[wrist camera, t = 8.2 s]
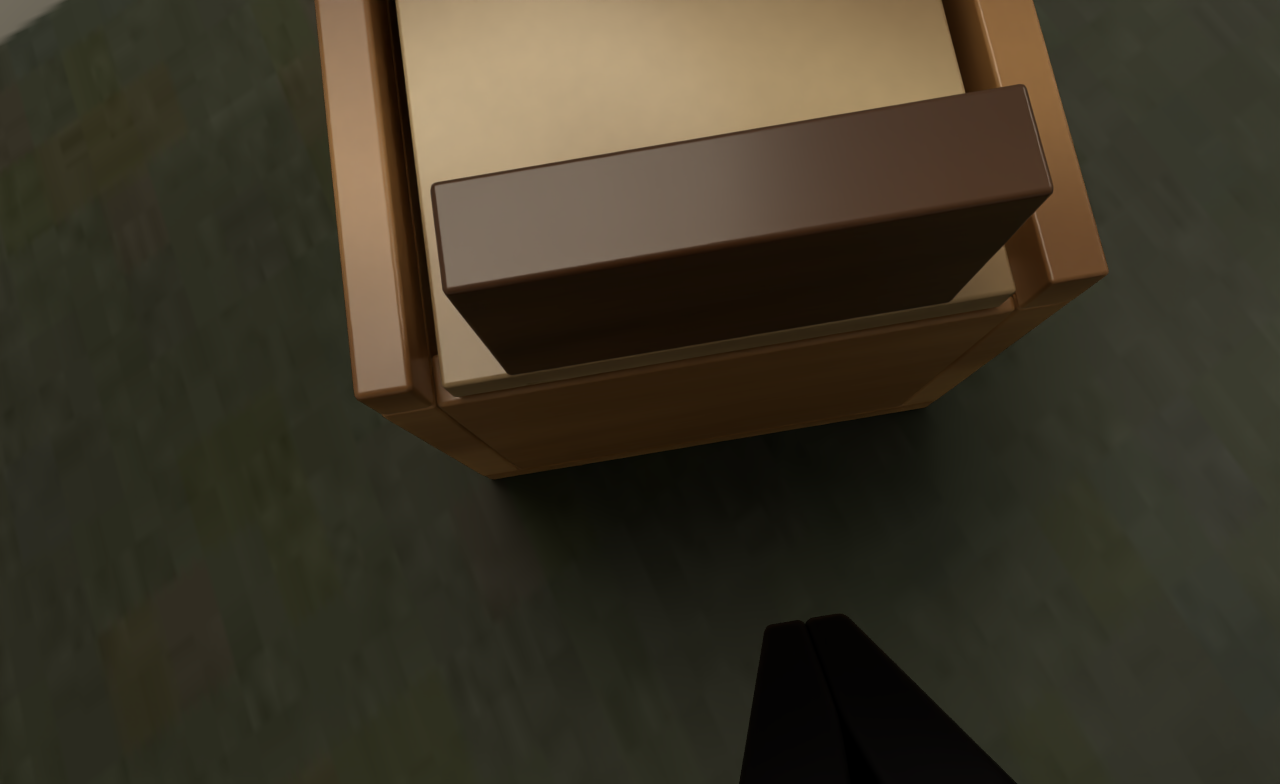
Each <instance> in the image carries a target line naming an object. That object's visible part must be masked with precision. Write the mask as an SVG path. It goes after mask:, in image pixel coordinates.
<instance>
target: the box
mask: <svg viewBox="0 0 1280 784" xmlns="http://www.w3.org/2000/svg"><path fill="white" fill-rule="evenodd" d="M314 1H315V11H316V21H317V31H318V41H319V51H320V61H321V71H322V81H323V91H324V101H325V110H326V120H327V130H328V140H329V150H330V160H331V170H332V180H333V190H334V200H335V210H336V220H337V230H338V240H339V250H340V260H341V269H342V279H343V289H344V299H345V309H346V319H347V329H348V339H349V349H350V359H351V369H352V379H353V389H354V396H355V397H356V399H357V400H358V401H360V402H362V403H363V404H365V405H367V406H368V407H370V408H372V409H373V410H375V411H377V412H378V413H380V414H382V416H383V417H384V418H386V419H388V420H389V421H391V422H393V423H395V424H396V425H398V426H400V427H401V428H403V429H405V430H406V431H408V432H410V433H412V434H413V435H415V436H417V437H418V438H420V439H422V440H423V441H425V442H427V443H429V444H430V445H432V446H434V447H435V448H437V449H439V450H440V451H442V452H444V453H446V454H447V455H449V456H451V457H452V458H454V459H456V460H457V461H459V462H461V463H462V464H464V465H466V466H468V467H469V468H471V469H473V470H474V471H476V472H478V473H479V474H481V475H483V476H486V477H488V478H489V479H499V478H505V477H511V476H517V475H523V474H529V473H535V472H541V471H547V470H553V469H559V468H565V467H571V466H577V465H583V464H589V463H595V462H601V461H607V460H613V459H619V458H625V457H631V456H637V455H643V454H649V453H655V452H661V451H667V450H673V449H679V448H685V447H691V446H697V445H703V444H709V443H715V442H721V441H727V440H733V439H739V438H745V437H751V436H757V435H763V434H769V433H775V432H781V431H787V430H793V429H799V428H805V427H811V426H817V425H823V424H829V423H835V422H841V421H847V420H853V419H859V418H865V417H871V416H877V415H883V414H889V413H895V412H901V411H907V410H913V409H919V408H925V407H927V406H928V405H930V404H931V403H932V402H934V401H936V400H937V399H939V398H940V397H941V396H943V395H944V394H945V393H947V392H948V391H949V390H951V389H952V388H953V387H955V386H956V385H958V384H959V383H960V382H962V381H963V380H964V379H966V378H967V377H968V376H970V375H971V374H972V373H974V372H975V371H977V370H978V369H979V368H981V367H982V366H983V365H985V364H986V363H987V362H989V361H990V360H991V359H993V358H994V357H996V356H997V355H998V354H1000V353H1001V352H1002V351H1004V350H1005V349H1006V348H1008V347H1009V346H1010V345H1012V344H1013V343H1015V342H1016V341H1017V340H1019V339H1020V338H1021V337H1023V336H1024V335H1025V334H1027V333H1028V332H1030V331H1031V330H1032V329H1034V328H1035V327H1036V326H1038V325H1039V324H1040V323H1042V322H1043V321H1044V320H1046V319H1047V318H1049V317H1050V316H1051V315H1053V314H1054V313H1055V312H1057V311H1058V310H1059V309H1061V308H1062V307H1063V306H1065V305H1066V304H1068V303H1069V302H1070V301H1072V300H1073V299H1075V298H1076V297H1077V296H1079V295H1080V294H1082V293H1083V292H1084V291H1086V290H1087V289H1088V288H1090V287H1091V286H1092V285H1094V284H1095V283H1097V282H1098V281H1099V280H1101V279H1102V278H1103V277H1105V276H1106V275H1107V274H1108V266H1107V263H1106V259H1105V256H1104V252H1103V248H1102V245H1101V241H1100V238H1099V234H1098V231H1097V227H1096V223H1095V220H1094V216H1093V213H1092V209H1091V206H1090V202H1089V199H1088V195H1087V191H1086V188H1085V184H1084V181H1083V177H1082V174H1081V170H1080V166H1079V163H1078V159H1077V156H1076V152H1075V149H1074V145H1073V142H1072V138H1071V134H1070V131H1069V127H1068V124H1067V120H1066V117H1065V113H1064V109H1063V106H1062V102H1061V99H1060V95H1059V92H1058V88H1057V85H1056V81H1055V77H1054V74H1053V70H1052V67H1051V63H1050V60H1049V56H1048V52H1047V49H1046V45H1045V42H1044V38H1043V35H1042V31H1041V28H1040V24H1039V20H1038V17H1037V13H1036V10H1035V6H1034V3H1033V0H942V4H943V8H944V12H945V15H946V19H947V23H948V27H949V31H950V35H951V39H952V43H953V46H954V50H955V54H956V58H957V62H958V66H959V70H960V74H961V77H962V81H963V85H964V89H965V93H969V92H975V91H981V90H987V89H993V88H999V87H1004V86H1010V85H1016V84H1024V85H1025V86H1026V88H1027V91H1028V94H1029V98H1030V102H1031V105H1032V109H1033V113H1034V116H1035V120H1036V124H1037V127H1038V131H1039V135H1040V138H1041V142H1042V146H1043V149H1044V153H1045V156H1046V160H1047V164H1048V167H1049V171H1050V175H1051V178H1052V182H1053V186H1054V189H1053V193H1052V194H1051V196H1050V197H1049V198H1048V199H1047V200H1046V201H1045V202H1044V203H1043V204H1042V205H1041V206H1040V207H1039V208H1038V209H1037V210H1036V211H1035V213H1034V214H1033V215H1032V216H1031V217H1030V218H1029V219H1028V220H1027V221H1026V222H1025V223H1024V224H1023V225H1022V226H1021V227H1020V228H1019V229H1018V231H1017V232H1016V233H1015V234H1014V235H1013V236H1012V237H1011V238H1010V239H1009V240H1008V241H1007V242H1006V243H1005V248H1006V252H1007V256H1008V260H1009V264H1010V267H1011V271H1012V275H1013V279H1014V283H1015V287H1016V291H1015V293H1014V294H1013V295H1012V296H1011V297H1010V298H1008V299H1007V300H1006V301H1005V302H1004V303H1003V304H1002V305H1000V306H999V307H994V308H988V309H982V310H976V311H970V312H964V313H958V314H952V315H946V316H940V317H934V318H928V319H922V320H916V321H910V322H904V323H898V324H892V325H886V326H880V327H874V328H868V329H862V330H856V331H850V332H844V333H838V334H832V335H826V336H820V337H814V338H808V339H802V340H796V341H790V342H784V343H778V344H772V345H766V346H760V347H754V348H748V349H742V350H736V351H730V352H724V353H718V354H712V355H706V356H701V357H695V358H689V359H683V360H677V361H671V362H665V363H659V364H653V365H647V366H641V367H635V368H629V369H623V370H617V371H611V372H605V373H599V374H593V375H587V376H581V377H575V378H569V379H563V380H557V381H551V382H545V383H539V384H533V385H527V386H521V387H515V388H509V389H503V390H497V391H491V392H485V393H479V394H473V395H467V396H461V397H454V396H452V395H451V394H450V393H449V392H447V391H446V390H445V389H444V388H443V386H442V384H441V376H440V368H439V360H438V351H437V343H436V335H435V327H434V318H433V310H432V302H431V293H430V285H429V277H428V269H427V260H426V252H425V244H424V235H423V227H422V219H421V211H420V202H419V194H418V186H417V178H416V169H415V161H414V153H413V144H412V136H411V128H410V120H409V111H408V103H407V95H406V87H405V78H404V70H403V62H402V53H401V45H400V37H399V29H398V20H397V12H396V4H395V0H314Z"/></svg>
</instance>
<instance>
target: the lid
mask: <svg viewBox="0 0 1280 784" xmlns="http://www.w3.org/2000/svg"><path fill="white" fill-rule="evenodd" d="M395 4H396V12H397V20H398V29H399V37H400V45H401V53H402V62H403V70H404V78H405V87H406V95H407V103H408V111H409V120H410V128H411V136H412V144H413V153H414V161H415V169H416V178H417V186H418V194H419V202H420V211H421V219H422V227H423V235H424V244H425V252H426V260H427V269H428V277H429V285H430V293H431V302H432V310H433V318H434V327H435V335H436V343H437V351H438V360H439V368H440V376H441V384H442V386H443V388H444V389H445V390H446V391H447V392H449V393H450V394H451V395H452V396H454V397H461V396H467V395H473V394H479V393H485V392H491V391H497V390H503V389H509V388H515V387H521V386H527V385H533V384H539V383H545V382H551V381H557V380H563V379H569V378H575V377H581V376H587V375H593V374H599V373H605V372H611V371H617V370H623V369H629V368H635V367H641V366H647V365H653V364H659V363H665V362H671V361H677V360H683V359H689V358H695V357H701V356H706V355H712V354H718V353H724V352H730V351H736V350H742V349H748V348H754V347H760V346H766V345H772V344H778V343H784V342H790V341H796V340H802V339H808V338H814V337H820V336H826V335H832V334H838V333H844V332H850V331H856V330H862V329H868V328H874V327H880V326H886V325H892V324H898V323H904V322H910V321H916V320H922V319H928V318H934V317H940V316H946V315H952V314H958V313H964V312H970V311H976V310H982V309H988V308H994V307H999V306H1000V305H1002V304H1003V303H1004V302H1005V301H1006V300H1007V299H1008V298H1010V297H1011V296H1012V295H1013V294H1014V293H1015V291H1016V287H1015V283H1014V279H1013V275H1012V271H1011V267H1010V264H1009V260H1008V256H1007V252H1006V248H1005V243H1006V242H1007V241H1008V240H1009V239H1010V238H1011V237H1012V236H1013V235H1014V234H1015V233H1016V232H1017V231H1018V229H1019V228H1020V227H1021V226H1022V225H1023V224H1024V223H1025V222H1026V221H1027V220H1028V219H1029V218H1030V217H1031V216H1032V215H1033V214H1034V213H1035V211H1036V210H1037V209H1038V208H1039V207H1040V206H1041V205H1042V204H1043V203H1044V202H1045V201H1046V200H1047V199H1048V198H1049V197H1050V196H1051V194H1052V193H1053V189H1054V186H1053V182H1052V178H1051V175H1050V171H1049V167H1048V164H1047V160H1046V156H1045V153H1044V149H1043V146H1042V142H1041V138H1040V135H1039V131H1038V127H1037V124H1036V120H1035V116H1034V113H1033V109H1032V105H1031V102H1030V98H1029V94H1028V91H1027V88H1026V86H1025V85H1024V84H1016V85H1010V86H1004V87H999V88H993V89H987V90H981V91H975V92H969V93H965V89H964V85H963V81H962V77H961V74H960V70H959V66H958V62H957V58H956V54H955V50H954V46H953V43H952V39H951V35H950V31H949V27H948V23H947V19H946V15H945V12H944V8H943V4H942V0H395Z"/></svg>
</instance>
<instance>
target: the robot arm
mask: <svg viewBox="0 0 1280 784" xmlns="http://www.w3.org/2000/svg"><path fill="white" fill-rule="evenodd" d="M739 784H1017V783H1016V782H1015V781H1014V780H1013V779H1012V778H1011V777H1010V776H1009V775H1008V774H1007V773H1006V772H1005V771H1004V770H1003V769H1002V768H1001V767H1000V766H999V765H998V764H997V763H996V762H995V761H994V760H993V759H992V758H991V757H990V756H989V755H988V754H987V753H986V752H985V751H984V750H983V749H981V748H980V747H979V746H978V745H977V744H976V743H975V742H974V741H973V740H972V739H971V738H970V737H969V736H968V735H967V734H966V733H965V732H964V731H963V730H962V729H961V728H960V727H959V726H958V725H957V724H956V723H955V722H954V721H953V720H952V719H951V718H950V717H949V716H948V715H947V714H946V713H945V712H944V711H943V710H942V709H941V708H940V707H939V706H938V705H937V704H936V703H935V702H934V701H933V700H932V699H931V698H930V697H929V696H928V695H927V694H926V693H925V692H924V691H923V690H922V689H921V688H920V687H919V686H918V685H917V684H916V683H915V682H914V681H913V680H912V679H911V678H910V677H909V676H908V675H907V674H906V673H905V672H904V671H903V670H902V669H901V668H900V667H899V666H898V665H897V664H896V663H895V662H894V661H892V660H891V659H890V658H889V657H888V656H887V655H886V654H885V653H884V652H883V651H882V650H881V649H880V648H879V647H878V646H877V645H876V644H875V643H874V642H873V641H872V640H871V639H870V638H869V637H868V636H867V635H866V634H865V633H864V632H863V631H862V630H861V629H860V628H859V627H858V626H857V625H856V624H855V623H854V622H853V621H852V620H851V619H850V618H849V617H848V616H846V615H844V614H832V615H826V616H820V617H814V618H810V619H809V620H808V621H807V622H806V624H804V623H803V622H802V621H800V620H796V621H790V622H784V623H778V624H772V625H769V626H767V627H766V629H765V631H764V636H763V642H762V649H761V655H760V661H759V667H758V673H757V679H756V685H755V691H754V697H753V703H752V709H751V715H750V721H749V727H748V734H747V740H746V746H745V752H744V758H743V764H742V770H741V776H740V782H739Z"/></svg>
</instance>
